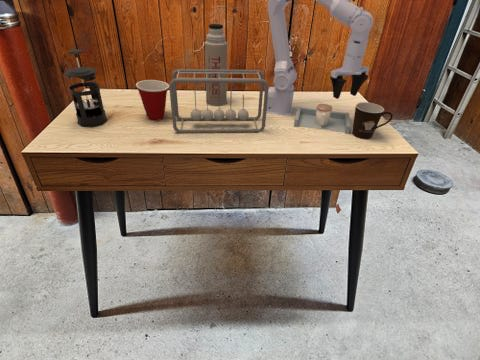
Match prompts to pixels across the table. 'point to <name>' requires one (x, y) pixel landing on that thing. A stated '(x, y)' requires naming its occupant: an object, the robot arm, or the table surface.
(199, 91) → the table surface
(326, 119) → the cylinder with tab
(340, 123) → the caddy
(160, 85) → the plastic cup
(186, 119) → the newton's cradle
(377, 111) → the coffee mug
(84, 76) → the french press
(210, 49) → the thermos bottle
